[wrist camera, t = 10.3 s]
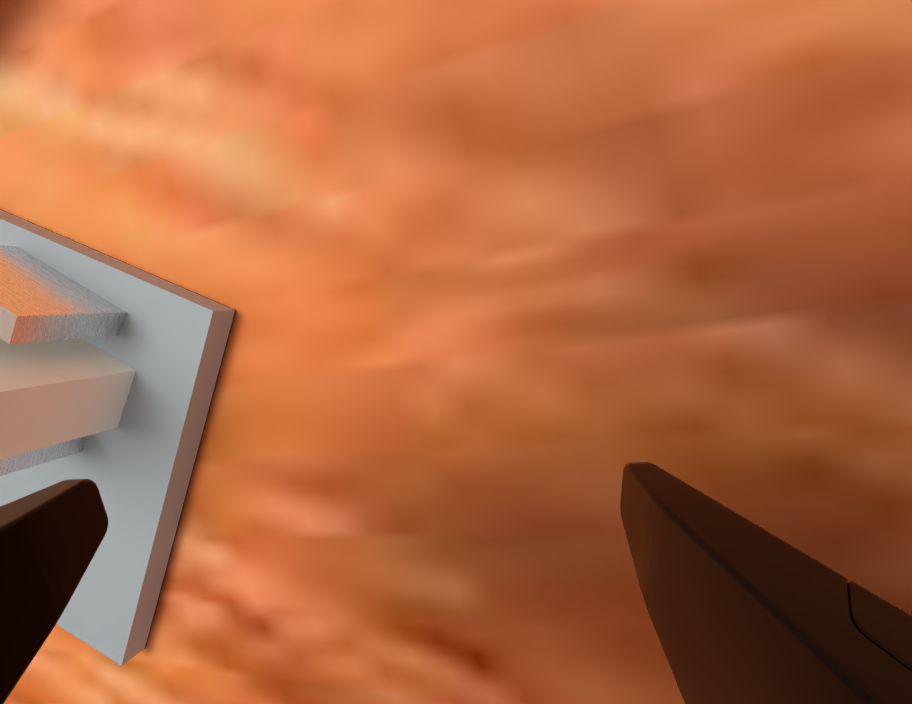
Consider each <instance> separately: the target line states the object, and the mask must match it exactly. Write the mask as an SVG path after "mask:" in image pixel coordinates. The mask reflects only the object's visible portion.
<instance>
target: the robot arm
mask: <svg viewBox="0 0 912 704" xmlns="http://www.w3.org/2000/svg"><path fill="white" fill-rule="evenodd" d="M620 509H621V517H622V521H623V525H624V529H625V532H626V536H627V539H628V543H629V547H630V550H631V554H632V558H633V561H634V565H635V569H636V572H637V576H638V580H639V583H640V587H641V590H642V594H643V597H644V600H645V604H646V606H647V609H648V612H649V614H650V617H651V620H652V622H653V625H654V627H655V630H656V632H657V635H658V637H659V640H660V642H661V644H662V647H663V649H664V652H665V654H666V657H667V659H668V662H669V664H670V667H671V669H672V672H673V674H674V677H675V679H676V682H677V684H678V687H679V689H680V692H681V694H682V697H683V699H684V702H685V704H912V616H911V615H909V614H907V613H906V612H904V611H902V610H900V609H899V608H897V607H895V606H893V605H891V604H890V603H888V602H886V601H884V600H883V599H881V598H879V597H878V596H876V595H874V594H873V593H871V592H869V591H868V590H866V589H864V588H863V587H861V586H859V585H857V584H856V583H854V582H849V583H848V581H847V579H846V578H845V577H844V576H842V575H840V574H839V573H837V572H835V571H833V570H832V569H830V568H828V567H827V566H825V565H823V564H822V563H820V562H818V561H817V560H815V559H813V558H811V557H810V556H808V555H806V554H805V553H803V552H801V551H800V550H798V549H796V548H795V547H793V546H791V545H790V544H788V543H786V542H784V541H783V540H781V539H779V538H778V537H776V536H774V535H773V534H771V533H769V532H768V531H766V530H764V529H762V528H761V527H759V526H757V525H756V524H754V523H752V522H751V521H749V520H747V519H746V518H744V517H742V516H740V515H739V514H737V513H735V512H734V511H732V510H730V509H729V508H727V507H725V506H724V505H722V504H720V503H718V502H717V501H715V500H713V499H712V498H710V497H708V496H707V495H705V494H703V493H702V492H700V491H698V490H696V489H695V488H693V487H691V486H690V485H688V484H686V483H685V482H683V481H681V480H680V479H678V478H676V477H674V476H673V475H671V474H669V473H668V472H666V471H664V470H663V469H661V468H659V467H658V466H656V465H654V464H652V463H649V462H640V463H628V464H626V465H625V467H624V470H623V480H622V491H621V503H620ZM107 529H108V516H107V513H106V510H105V507H104V504H103V501H102V498H101V495H100V492H99V489H98V487H97V484H96V483H95V482H94V481H92V480H90V479H68V480H64V481H61V482H58V483H56V484H54V485H51V486H49V487H46V488H44V489H42V490H39V491H37V492H34V493H32V494H30V495H27V496H25V497H22V498H20V499H18V500H15V501H13V502H10V503H8V504H5V505H3V506H1V507H0V704H4V702H5V701H6V699H7V698H8V696H9V695H10V693H11V692H12V690H13V689H14V687H15V686H16V684H17V683H18V681H19V679H20V678H21V676H22V675H23V673H24V672H25V670H26V669H27V667H28V666H29V664H30V663H31V661H32V660H33V658H34V657H35V655H36V654H37V652H38V651H39V649H40V648H41V646H42V645H43V643H44V642H45V640H46V639H47V637H48V636H49V634H50V633H51V631H52V630H53V628H54V626H55V625H56V623H57V622H58V620H59V618H60V617H61V615H62V613H63V612H64V610H65V608H66V606H67V605H68V603H69V601H70V599H71V597H72V595H73V594H74V592H75V590H76V588H77V586H78V584H79V583H80V581H81V579H82V577H83V575H84V573H85V571H86V570H87V568H88V566H89V564H90V562H91V560H92V559H93V557H94V555H95V553H96V551H97V549H98V547H99V546H100V544H101V542H102V540H103V538H104V536H105V534H106V532H107Z"/></svg>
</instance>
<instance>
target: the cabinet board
mask: <svg viewBox="0 0 912 704" xmlns="http://www.w3.org/2000/svg"><path fill="white" fill-rule="evenodd" d="M0 245H4V246H16V247H19V248H21V249H22V250H24V251H26V252H27V253H29V254H31V255H32V256H34V257H36V258H37V259H39V260H41V261H42V262H44V263H46V264H47V265H49V266H51V267H52V268H54V269H56V270H57V271H59V272H61V273H62V274H64V275H66V276H67V277H69V278H71V279H72V280H74V281H76V282H77V283H79V284H81V285H82V286H84V287H86V288H87V289H89V290H91V291H92V292H94V293H96V294H97V295H99V296H101V297H102V298H104V299H106V300H107V301H109V302H111V303H112V304H114V305H116V306H117V307H119V308H121V309H122V310H124V311H126V312H127V315H126V318H125V321H124V324H123V327H122V330H121V333H120V335H119V336H107V337H94V338H83V339H85V340H87V341H88V342H90V343H92V344H93V345H95V346H97V347H98V348H100V349H102V350H103V351H105V352H107V353H108V354H110V355H111V356H113V357H115V358H116V359H118V360H120V361H121V362H123V363H125V364H126V365H128V366H130V367H131V368H133V369H135V370H136V372H135V375H134V378H133V381H132V384H131V387H130V390H129V393H128V397H127V400H126V403H125V406H124V409H123V412H122V415H121V418H120V421H119V424H118V427H117V428H114V429H110V430H107V431H103V432H99V433H96V434H92V435H88V436H87V438H86V441H85V444H84V447H83V450H82V452H80V453H77V454H73V455H70V456H67V457H63V458H60V459H56V460H53V461H50V462H46V463H43V464H40V465H36V466H33V467H30V468H26V469H23V470H20V471H16V472H13V473H10V474H6V475H3V476H0V507H1V506H3V505H5V504H8V503H10V502H13V501H15V500H18V499H20V498H22V497H25V496H27V495H30V494H32V493H34V492H37V491H39V490H42V489H44V488H46V487H49V486H51V485H54V484H56V483H58V482H61V481H64V480H68V479H90V480H92V481H94V482H95V483H96V484H97V487H98V489H99V492H100V495H101V498H102V501H103V504H104V507H105V510H106V513H107V516H108V529H107V532H106V534H105V536H104V538H103V540H102V542H101V544H100V546H99V547H98V549H97V551H96V553H95V555H94V557H93V559H92V560H91V562H90V564H89V566H88V568H87V570H86V571H85V573H84V575H83V577H82V579H81V581H80V583H79V584H78V586H77V588H76V590H75V592H74V594H73V595H72V597H71V599H70V601H69V603H68V605H67V606H66V608H65V610H64V612H63V613H62V615H61V617H60V618H59V620H58V622H57V623H56V624H57V625H58V626H60V627H62V628H63V629H65V630H66V631H68V632H69V633H71V634H72V635H74V636H76V637H77V638H79V639H80V640H82V641H83V642H85V643H86V644H88V645H90V646H91V647H93V648H94V649H96V650H97V651H99V652H101V653H102V654H104V655H105V656H107V657H108V658H110V659H111V660H113V661H115V662H116V663H118V664H119V665H121V666H122V665H123V664H125V663H126V662H127V661H128V660H130V659H131V658H132V657H134V656H135V655H136V654H138V653H139V652H140V651H142V650H143V649H144V648H145V646H146V642H147V638H148V635H149V631H150V627H151V624H152V620H153V616H154V612H155V609H156V605H157V601H158V597H159V594H160V590H161V586H162V582H163V579H164V575H165V571H166V567H167V564H168V560H169V556H170V552H171V549H172V545H173V541H174V537H175V534H176V530H177V526H178V522H179V519H180V515H181V511H182V507H183V504H184V500H185V496H186V492H187V489H188V485H189V481H190V477H191V474H192V470H193V466H194V462H195V459H196V455H197V451H198V447H199V444H200V440H201V436H202V432H203V429H204V425H205V421H206V417H207V414H208V410H209V406H210V402H211V399H212V395H213V391H214V387H215V384H216V380H217V376H218V372H219V369H220V365H221V361H222V357H223V354H224V350H225V346H226V342H227V339H228V335H229V331H230V327H231V324H232V320H233V316H234V312H235V310H233V309H231V308H229V307H226V306H224V305H222V304H219V303H217V302H215V301H212V300H210V299H208V298H205V297H203V296H201V295H198V294H196V293H194V292H191V291H189V290H187V289H184V288H182V287H180V286H177V285H175V284H173V283H170V282H168V281H166V280H163V279H161V278H159V277H156V276H154V275H152V274H149V273H147V272H145V271H143V270H140V269H138V268H136V267H133V266H131V265H129V264H126V263H124V262H122V261H119V260H117V259H115V258H112V257H110V256H108V255H105V254H103V253H101V252H98V251H96V250H94V249H91V248H89V247H87V246H84V245H82V244H80V243H77V242H75V241H73V240H70V239H68V238H66V237H63V236H61V235H59V234H56V233H54V232H52V231H49V230H47V229H45V228H42V227H40V226H38V225H35V224H33V223H31V222H28V221H26V220H24V219H21V218H19V217H17V216H14V215H12V214H10V213H7V212H5V211H3V210H0Z"/></svg>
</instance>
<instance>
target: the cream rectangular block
mask: <svg viewBox="0 0 912 704" xmlns="http://www.w3.org/2000/svg"><path fill="white" fill-rule="evenodd" d="M135 372H136V370H135V369H133V368H131V367H130V366H128V365H126V364H125V363H123V362H121V361H120V360H118V359H116V358H115V357H113V356H111V355H110V354H108V353H107V352H105V351H103V350H102V349H100V348H98V347H97V346H95V345H93V344H92V343H90V342H88V341H87V340H85V339H83V338H82V339H69V340H57V341H45V342H32V343H20V344H8V343H6V342H5V341H3V340H2V339H0V459H3V458H7V457H11V456H14V455H18V454H22V453H25V452H29V451H33V450H37V449H40V448H44V447H48V446H51V445H55V444H59V443H62V442H66V441H70V440H73V439H77V438H81V437H85V436H88V435H92V434H96V433H99V432H103V431H107V430H110V429H114V428H117V427H118V424H119V421H120V418H121V415H122V412H123V409H124V406H125V403H126V400H127V397H128V393H129V390H130V387H131V384H132V381H133V378H134V375H135Z"/></svg>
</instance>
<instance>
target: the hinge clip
mask: <svg viewBox="0 0 912 704" xmlns="http://www.w3.org/2000/svg"><path fill="white" fill-rule="evenodd" d="M126 315H127V312H126V311H124V310H122V309H121V308H119V307H117V306H116V305H114V304H112V303H111V302H109V301H107V300H106V299H104V298H102V297H101V296H99V295H97V294H96V293H94V292H92V291H91V290H89V289H87V288H86V287H84V286H82V285H81V284H79V283H77V282H76V281H74V280H72V279H71V278H69V277H67V276H66V275H64V274H62V273H61V272H59V271H57V270H56V269H54V268H52V267H51V266H49V265H47V264H46V263H44V262H42V261H41V260H39V259H37V258H36V257H34V256H32V255H31V254H29V253H27V252H26V251H24V250H22V249H21V248H19V247H16V246H4V245H0V339H2V340H3V341H5V342H6V343H8V344H20V343H32V342H45V341H57V340H69V339H82V338H94V337H107V336H119V335H120V333H121V330H122V327H123V324H124V321H125V318H126ZM86 438H87V436H85V437H81V438H77V439H73V440H70V441H66V442H62V443H59V444H55V445H51V446H48V447H44V448H40V449H37V450H33V451H29V452H25V453H22V454H18V455H14V456H11V457H7V458H3V459H0V476H3V475H6V474H10V473H13V472H16V471H20V470H23V469H26V468H30V467H33V466H36V465H40V464H43V463H46V462H50V461H53V460H56V459H60V458H63V457H67V456H70V455H73V454H77V453H80V452H82V450H83V447H84V444H85V441H86Z"/></svg>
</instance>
